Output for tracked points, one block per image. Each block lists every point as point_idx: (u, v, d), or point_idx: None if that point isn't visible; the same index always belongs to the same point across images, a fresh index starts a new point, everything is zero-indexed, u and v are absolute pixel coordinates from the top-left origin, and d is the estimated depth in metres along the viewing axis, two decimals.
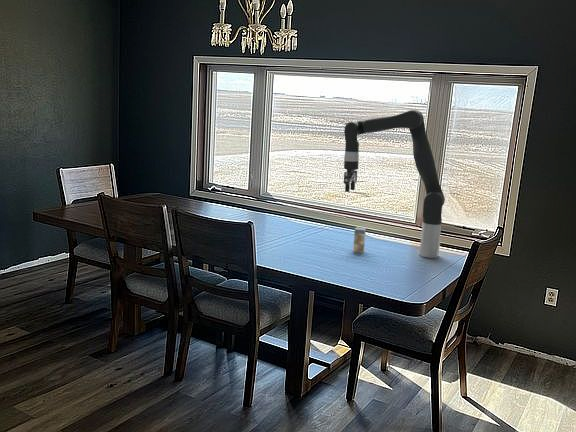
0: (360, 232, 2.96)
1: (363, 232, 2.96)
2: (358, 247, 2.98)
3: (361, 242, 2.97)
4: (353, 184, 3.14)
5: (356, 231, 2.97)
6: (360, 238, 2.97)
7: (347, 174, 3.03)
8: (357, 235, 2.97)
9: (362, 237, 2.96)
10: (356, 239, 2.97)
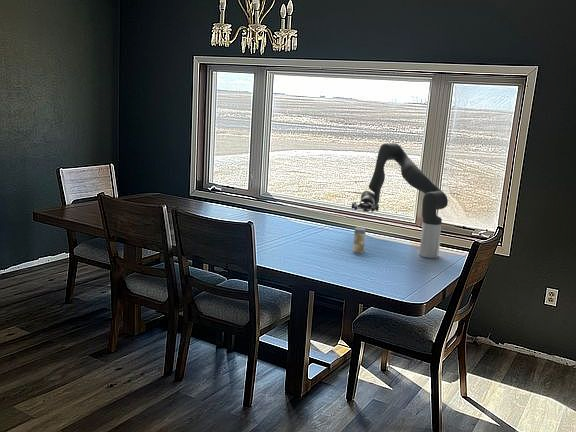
0: (360, 232, 2.96)
1: (363, 232, 2.96)
2: (358, 247, 2.98)
3: (361, 242, 2.97)
4: (372, 207, 3.09)
5: (356, 231, 2.97)
6: (360, 238, 2.97)
7: (353, 203, 3.17)
8: (357, 235, 2.97)
9: (362, 237, 2.96)
10: (356, 239, 2.97)
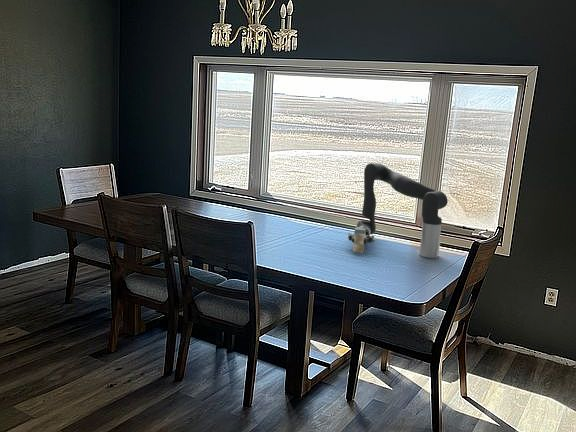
0: (360, 232, 2.96)
1: (363, 232, 2.96)
2: (358, 247, 2.98)
3: (361, 242, 2.97)
4: (364, 239, 2.99)
5: (356, 231, 2.97)
6: (360, 238, 2.97)
7: (348, 234, 3.07)
8: (357, 235, 2.97)
9: (362, 237, 2.96)
10: (356, 239, 2.97)
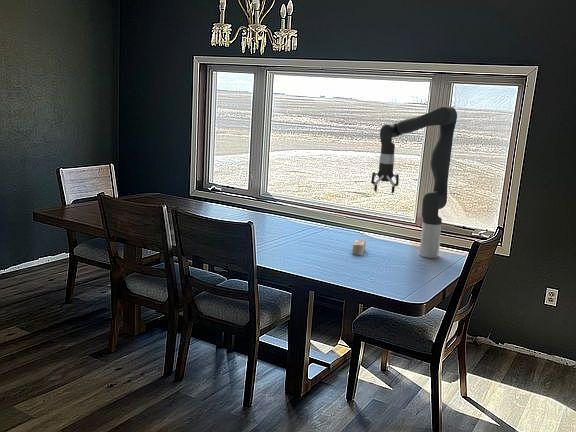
0: None
1: None
2: None
3: None
4: None
5: None
6: None
7: (398, 176, 3.10)
8: None
9: None
10: None
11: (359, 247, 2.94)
